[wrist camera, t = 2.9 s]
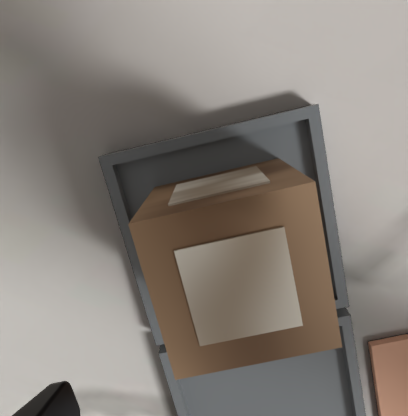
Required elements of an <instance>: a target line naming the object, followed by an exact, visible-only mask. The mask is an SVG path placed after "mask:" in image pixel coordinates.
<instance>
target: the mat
mask: <svg viewBox="0 0 408 416" xmlns="http://www.w3.org/2000/svg"><path fill="white" fill-rule="evenodd" d="M368 345H369V352H370V359H371V366H372V373H373V380H374V387H375V394H376V401H377V408H378V415H379V416H408V334H405V335H400V336H395V337H389V338H384V339H379V340H374V341H369V342H368Z"/></svg>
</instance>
